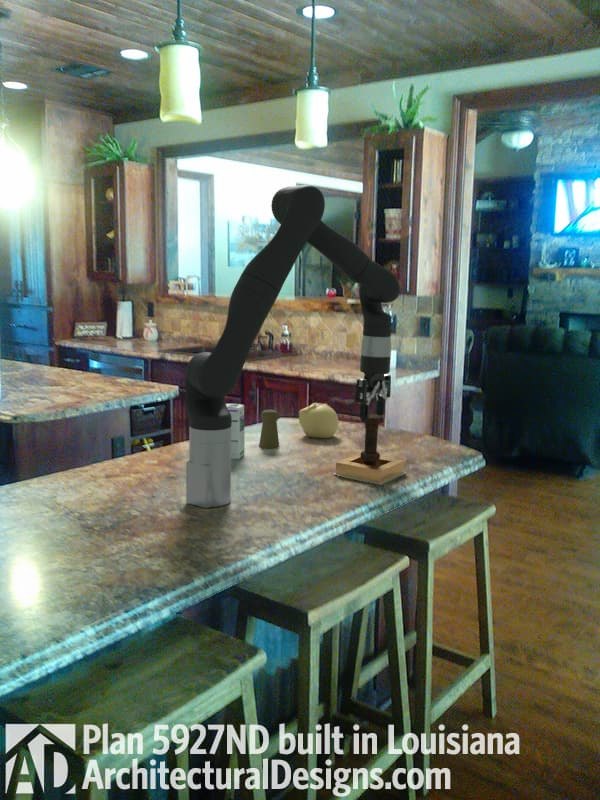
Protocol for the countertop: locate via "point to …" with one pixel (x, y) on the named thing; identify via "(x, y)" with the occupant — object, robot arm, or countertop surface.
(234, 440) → the syrup box
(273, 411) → the cork
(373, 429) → the bolt
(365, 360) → the robot arm
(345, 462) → the receiver
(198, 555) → the countertop surface
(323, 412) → the sculpture
